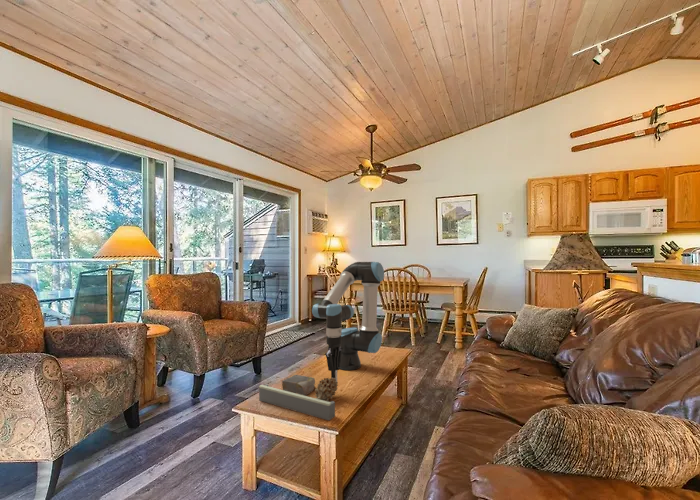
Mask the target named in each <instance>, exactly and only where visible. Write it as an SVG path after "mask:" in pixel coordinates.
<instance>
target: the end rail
mask: <svg viewBox="0 0 700 500" xmlns="http://www.w3.org/2000/svg"><path fill="white" fill-rule="evenodd" d="M258 391H259V392H258V396H259V397H258V400H259V402H263V403H267V404H271V405H274V406H277V407H280V408H284V409H287V410H288V409H289V410H291V411H295V412H299V413H302V414H304V415H305V414H306V415H308V416H312V417H315V418H319V419H322V420H326V421H331V420H333V418H334V417H335V416H336V402H335V401H334V400H330V401H328V402H327V401H323V400H319V399H316V398H317V397H311V396H307V395H301V394H297V393H293V392H288V391H284V390H283V389H281V388H276V387H272V386H269V384H267V383H266V384H261V385H259V386H258Z"/></svg>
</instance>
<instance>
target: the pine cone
mask: <svg viewBox="0 0 700 500" xmlns="http://www.w3.org/2000/svg"><path fill="white" fill-rule="evenodd" d="M318 382H319V383H318V384H317V386H316V388H314V393H315V395H314V396H315V398H316V399H319V400H323V401H327V402H330V401H329V400H332V399H333V396H335V395H336V394H337V390H338V386H339V384H338V383H339V382H338V381H337V382H336V380H335V378H331V377H323V379H321V380H319V381H318Z"/></svg>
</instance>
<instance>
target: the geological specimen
mask: <svg viewBox="0 0 700 500" xmlns="http://www.w3.org/2000/svg"><path fill="white" fill-rule="evenodd" d="M281 384H282V385H281V386H282V390H284V391H288V392H292V393H296V394H300V395H304V396H307V395H309V394H310V393H312V392H313V391H314V390H315V389H316V386H315V384H316V379H315V377H312V376H305V375H300V374H294V375H292V376H290V377H288V378H284V379H283V380H282V381H281Z"/></svg>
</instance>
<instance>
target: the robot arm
mask: <svg viewBox="0 0 700 500" xmlns="http://www.w3.org/2000/svg"><path fill="white" fill-rule="evenodd" d="M384 279H385V270H384V267H383V265H382V263H381V262H379V261H355V262H353V263H351V264H349V265H347V267H345V268H344V269H343V270H342V272H341V273H340V275H339V279H338V280H337V281H336V282H335V284H333V286H332V288H331V289H330V290H329V292H327V295H325V297H324V298H323V300H322V301H321V303H315V304H313V306H312V310H311V313H312V315H313V317H314V318H318V319H326V329H325V330H326V332H325V333H326V345H327V346H328V348H327V352H325V353H324V355H325V358H326V363H327V369H328V371H330V378H335V380H336V382H338V371H340V370H342V371H354V370H358V369H360V368H361V367H362V363H361V359H360V356H359V352H364V353H368V354H376V353H378V352H379V351H380V348H381V346H382V344H383V343H382V342H383V337H382V336H383V335H382V334H381V333H380V332H379V331H380V330H379V329H378V327H377V320H378V319H377V313H378V310H377V309H378V287H379V286H380V285H381V283H382V282H383V281H384ZM356 281H361V285H362V286H363V290H362V291H363V293H362V294H363V297H362V315H361V316H362V320H361V326H360V327H359V329H358V328H357V327H347V328H343V327H342V323H343V322H344V321H348V320H350V319H351V318H353V316H354V314H355V310H354V308H353V306H351V305H350V304H344V305H341V303H340V304H338V303H339V302H340V300H341V299H342V297H343V296H344V294H345V293H346V291H347V290H348V289H349V287H350V285H353V284H354V283H355V282H356Z"/></svg>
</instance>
